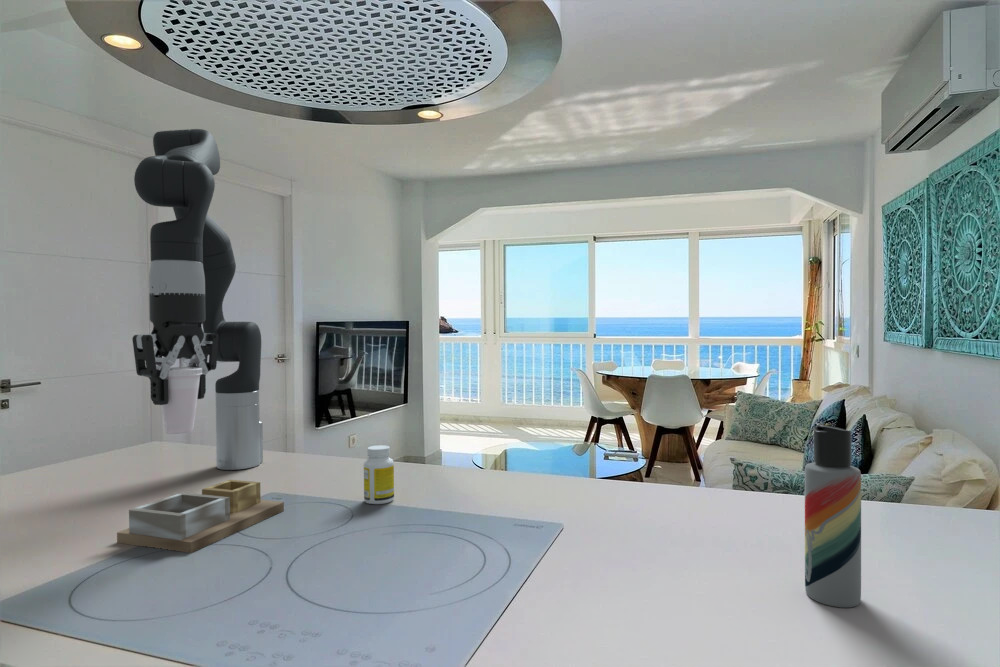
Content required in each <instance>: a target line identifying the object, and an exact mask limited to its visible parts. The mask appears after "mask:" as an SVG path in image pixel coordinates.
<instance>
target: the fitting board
mask: <svg viewBox="0 0 1000 667" xmlns="http://www.w3.org/2000/svg"><path fill="white" fill-rule="evenodd" d="M282 512H285V502H284V501H277V500H276V501H275V500H268V499H267V500H266V499H262V498H261V482H260V481H249V480H240V479H239V480H238V479H229V480H225V481H222V482H219V483H217V484H213V485H210V486H207V487H205V488H201V494H200V493H191V492H179V493H177V494H174V495H171V496H167V497H165V498H164V497H163V498H161V499H158V500H156V501H152V502H149V503H146V504H143V505H139V506H137V507H133V508H131V509H129V510H128V528H126V529H123V530H120V531H118V532H116V543H118V544H125V545H132V546H140V547H146V546H147V548H153V547H155V549H160V548H162V550H167V549H168V550H167V551H174V550H175V552H176V551H177V552H183V553H188V554H189V553H190V554H191V553H194V552H196V550H197V551H199V550H201V549H203V548H205V547H207V546H210V545H213V544H214V543H216V542H219V541H220V539H221V540H222V538H223V539H224V537H225V538H227V537H229V536H232V535H234V534H236V533H238V532H240V531H243V530H245V529H247V528H249V527H251V526H253V525H257V523H260V522H263V521H264V520H266V519H268V518H270V517H273V516H276V515H278V514H279V513H282ZM242 529H243V530H242ZM235 532H236V533H235ZM233 533H234V534H233ZM231 534H232V535H231Z"/></svg>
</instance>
